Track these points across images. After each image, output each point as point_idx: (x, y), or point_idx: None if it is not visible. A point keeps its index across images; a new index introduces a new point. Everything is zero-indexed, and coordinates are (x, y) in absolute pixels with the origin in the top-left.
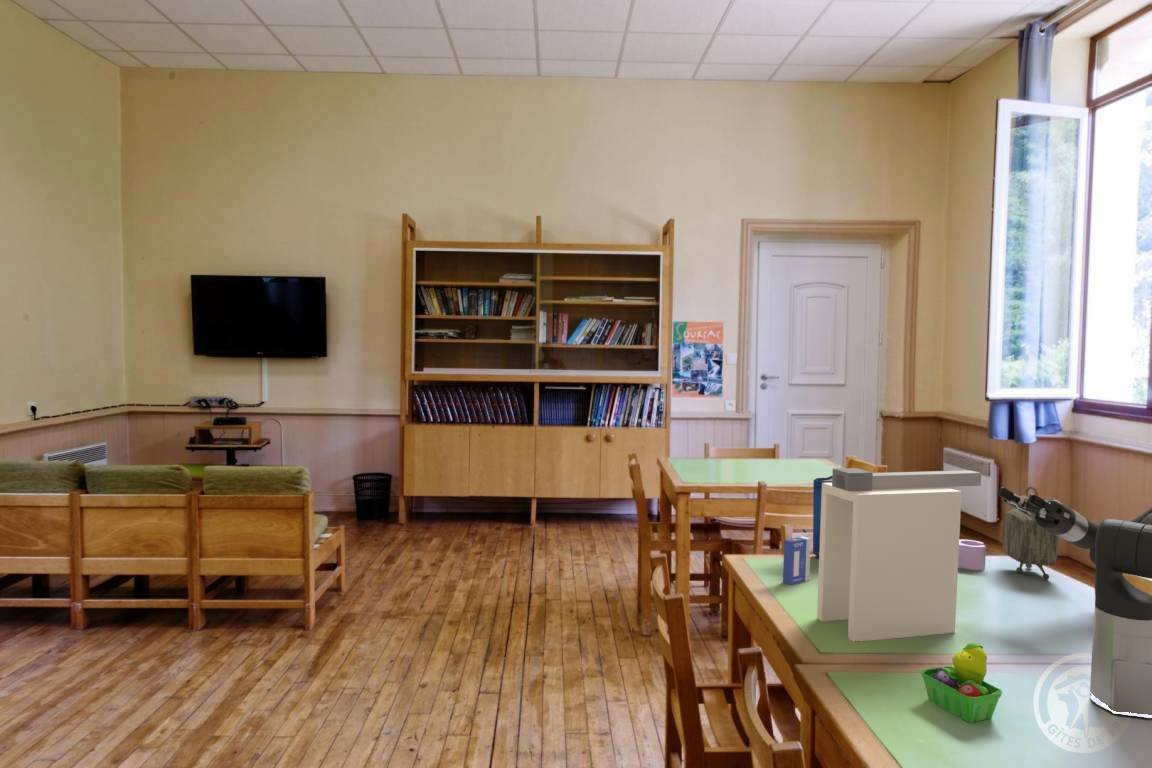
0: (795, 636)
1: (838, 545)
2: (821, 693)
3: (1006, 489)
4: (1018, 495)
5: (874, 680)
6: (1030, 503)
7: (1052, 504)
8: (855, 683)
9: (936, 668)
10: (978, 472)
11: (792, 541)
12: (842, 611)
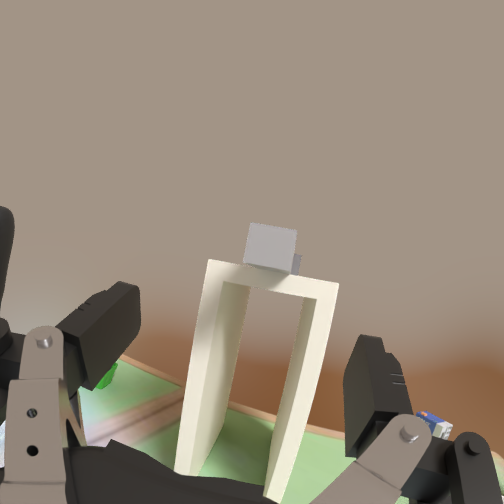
0: (246, 409)
1: (291, 360)
2: (162, 372)
3: (365, 352)
4: (369, 449)
5: (151, 389)
6: (127, 343)
7: (11, 333)
8: (157, 383)
9: (111, 369)
10: (258, 224)
11: (419, 413)
12: (272, 439)
